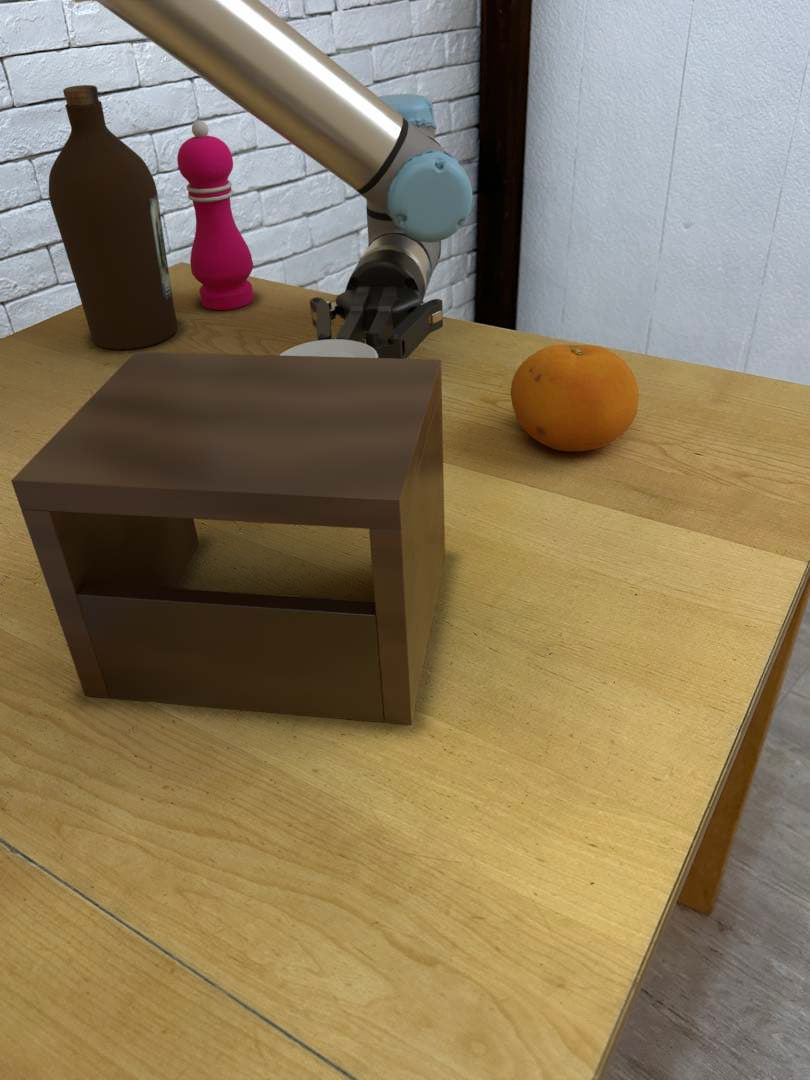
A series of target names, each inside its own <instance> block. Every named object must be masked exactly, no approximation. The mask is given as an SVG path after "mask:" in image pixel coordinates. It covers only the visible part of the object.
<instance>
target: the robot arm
mask: <svg viewBox="0 0 810 1080" xmlns="http://www.w3.org/2000/svg"><path fill="white" fill-rule="evenodd" d="M20 1H22V2H23V1H24V2H28V1H29V0H20ZM72 2H74V3H75V4H79V3H84V2H96V3H98V4H100V5H101V6H102V7H103V8H105V9H106V10H108V11H109V12H110V13H112V14H113V15H115V16H116V17H118V18H119V19H120V20H122V21H123V22H124V23H125V24H127V25H128V26H130V27H131V28H132V29H134V30H135V31H137V32H138V33H139V34H140V35H143V37H145V38H146V39H148V40H149V41H150V42H152V43H153V44H155V45H156V46H157V47H158V48H159V49H161V50H163V51H164V52H165V53H166V54H168V55H169V56H171V57H172V58H173V59H175V60H177V61H178V62H179V63H180V64H182V65H183V66H185V67H186V68H187V69H189V70H190V71H191V72H193V73H194V74H196V75H197V76H198V77H200V78H201V79H202V80H204V81H205V82H207V84H209V85H211V86H212V87H213V88H215V89H216V90H218V91H219V92H220V93H221V94H223V95H224V96H226V97H227V98H228V99H230V100H231V101H233V102H234V103H235V104H236V105H238V106H240V107H241V108H242V109H244V110H245V111H246V112H248V113H249V114H250V115H251V116H253V117H255V118H256V119H257V120H258V121H260V122H261V123H262V124H264V125H265V126H266V127H268V128H270V129H271V130H272V131H273V132H275V133H276V134H277V135H280V137H282V138H283V139H285V140H286V141H287V142H289V143H290V144H292V145H293V146H294V147H295V148H296V149H298V150H300V151H301V152H302V153H304V154H305V155H307V156H308V157H309V158H311V159H312V160H313V161H315V162H316V163H317V164H319V165H320V166H322V167H323V168H325V169H326V170H327V171H328V172H330V173H331V174H333V175H334V176H335V177H337V179H339V180H341V181H342V182H344V183H345V184H346V185H347V186H349V187H351V188H352V190H354V191H355V192H357V193H358V194H359V195H361V196H362V197H363V198H364V199H365V200H366V206H365V210H366V223H367V224H366V225H367V239H368V242H367V243H368V244H367V247H366V249H365V250H364V252H363V254H362V256H361V257H360V259H359V261H358V262H357V264H356V267H355V268H354V270H353V271H352V273H351V275H350V277H349V279H348V281H347V284H346V287H345V290H344V292H342V293H339V294H338V295H337V296H336V298H335V301H331V300H324V298H322V297H318V296H316V297H312V298H310V299H309V303H310V304H309V305H310V313H311V314H310V315H311V324H312V326H313V327H314V328H315V329H316V341H319V340H330V339H343V340H352V341H357V342H361V343H364V344H367V345H369V346H371V347H372V348H373V349H374V350H376V352H377V354H378V358H396V359H408V358H409V356H410V355H412V353H413V352H414V351H415V350H416V349H417V348H418V347H419V346H420V344H421V343H423V342H424V340H425V339H426V338H427V337H428V336H429V335H430V334H431V333H433V332H435V331H437V330H439V329H441V328H443V327H444V317H443V316H444V315H443V312H444V309H443V300H442V299H440V298H434V299H433V298H432V299H431V300H428V301H424V299H425V295H426V292H427V290H428V287H429V285H430V282H431V279H432V276H433V274H434V271H435V269H436V267H437V266H438V264H439V260H440V259H441V255H442V241H444V240H446V239H448V238H450V237H452V236H453V235H454V234H456V233H457V232H458V231H459V230H460V229H461V228H462V226H464V224H465V222H466V221H467V219H468V217H469V214H470V211H471V209H472V204H473V190H472V189H473V188H472V184H471V181H470V178H469V176H468V174H467V172H466V170H465V169H464V168H463V164H462V163H461V162H460V161H459V160H458V159H457V158H456V157H454V156H453V155H451V153H449V152H448V151H447V150H446V149H444V147H442V145H441V144H440V143H439V142H438V141H437V139H436V130H437V124H436V122H435V111H434V105H433V104H434V103H433V102H432V100H431V99H430V98H428V97H427V96H424V95H420V94H415V93H414V94H413V93H412V94H411V93H398V94H397V93H395V94H386V95H380V96H378V95H377V94H375V92H373V91H372V90H371V89H370V88H368V87H367V86H366V85H364V84H363V83H362V82H361V81H359V80H358V79H357V78H356V77H355V76H353V75H352V74H351V73H349V72H348V71H347V70H346V69H345V68H343V67H342V66H341V65H339V64H338V63H337V62H336V61H335V60H334V59H332V58H331V57H330V56H329V55H327V54H326V53H325V52H323V51H322V50H321V49H320V48H319V47H317V46H316V44H314V43H312V42H311V41H310V40H309V39H307V38H306V37H305V36H304V35H303V34H301V33H300V32H299V31H298V30H297V29H295V28H294V27H292V26H291V25H290V24H289V23H288V22H286V21H285V20H284V19H283V18H281V17H280V16H279V15H278V14H277V13H275V12H274V11H273V10H271V9H270V8H269V7H268V6H266V5H265V4H264V3H263V2H262V1H260V0H72ZM337 317H339V318H340V319H342V321H344V322H343V323H342V325H341V327H340V329H339V331H338V332H337V335H336V336H335V338H334V337H333V331H332V327H334V320H336V318H337Z"/></svg>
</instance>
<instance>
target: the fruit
mask: <svg viewBox="0 0 810 1080" xmlns="http://www.w3.org/2000/svg"><path fill="white" fill-rule="evenodd" d="M639 396H640V395H639V387H638V381H637V379H636V377H635V374H634V373H633V370H632V369H631V367H630V366H629V365H628V364H627V362H626V361H625V360H624V359H623V358H622V357H621V356H619V355H618V354H616V353H615V352H613V351H611V350H609V349H607V348H606V347H603V346H599V345H594V344H593V345H592V344H583V345H580V344H562V343H561V344H552V345H548V346H546V347H544V348H541V349H539V350H537V351H536V352H533V353H532V354H531V355H530V356H528V357H527V358H526V359H525V360H523V362H521V364H520V365H519V367H518V368H517V370H516V371H515V373H514V375H513V378H512V380H511V386H510V400H511V405H512V409H513V412H514V414H515V418H516V419H517V421H518V423H519V424H520V426H521V427H522V429H523V430H524V431H525V432H526V433H527V434H528V435H529V436H530V437H532V438H533V439H534V440H536V441H537V442H539V443H541V444H543V445H545V446H546V447H548V448H550V449H553V450H556V451H561V452H584V451H592V450H596V449H597V450H598V449H600V448H603V447H605V446H607V445H609V444H611V443H613V442H615V440H617V439H618V438H620V437H621V436H622V435H623V434H625V432H626V431H627V430H629V428H630V427H631V426H632V423H633V422H634V420H635V419H636V417H637V413H638V409H639V400H640V399H639V398H640V397H639Z"/></svg>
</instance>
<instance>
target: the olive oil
mask: <svg viewBox="0 0 810 1080" xmlns="http://www.w3.org/2000/svg"><path fill="white" fill-rule="evenodd" d="M62 93H63V97H64V98H65V101H66V104H65V105H64V106H65V110H66V113H67V118H68V121H69V126H70V134H69V136H68V138H67V139H66V141H65V143H64V145H63V146H62V148H61V150H60V151H59V153H58V155H57V157H56V159H55V161H54V162H53V164H52V166H51V168H50V171H49V176H48V199H49V202H50V207H51V210H52V213H53V215H54V220H55V221H56V222H55V223H56V225H57V228H58V231H59V234H60V237H61V240H62V244H63V247H64V250H65V253H66V256H67V259H68V263H69V266H70V270H71V273H72V276H73V279H74V283H75V286H76V288H77V289H76V290H77V292H78V296H79V299H80V303H81V306H82V309H83V314H84V316H85V321H86V323H87V326H88V330H89V334H90V337H91V339H92V341H93V343H94V344H95V345H97V346H99V347H100V348H104V349H107V350H116V351H124V350H125V351H126V350H136V349H142V348H147V347H151V346H154V345H158V344H160V343H163V342H165V341H166V340H168V339H169V338H172V337H173V336H174V335H175V333H176V332H177V330H178V322H177V321H178V320H177V315H176V310H175V303H174V298H173V297H174V296H173V290H172V284H171V278H170V271H169V264H168V257H167V251H166V250H167V249H166V244H165V237H164V229H163V223H162V216H161V208H160V201H159V194H158V189H157V184H156V182H155V179H154V177H153V174H152V173H151V171H150V168H149V166H148V165H147V163H146V162H145V161H144V160H143V158H142V157H141V156H140V155H139V154H138V153H136V152H135V151H134V149H132V148H131V147H129V146H128V145H127V144H126V143H125V142H123V141H122V140H121V139H120V138H119V137H118V136H116V135H115V134H114V133H113V132H112V131H111V130H110V129H109V128H108V127H107V123H106V121H105V114H104V113H105V112H104V108H103V103H102V101H100V100H99V91H98V87H97V86H96V85H94V84H93V85H92V84H82V85H73V86H68V87H65V88H63V90H62Z"/></svg>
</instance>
